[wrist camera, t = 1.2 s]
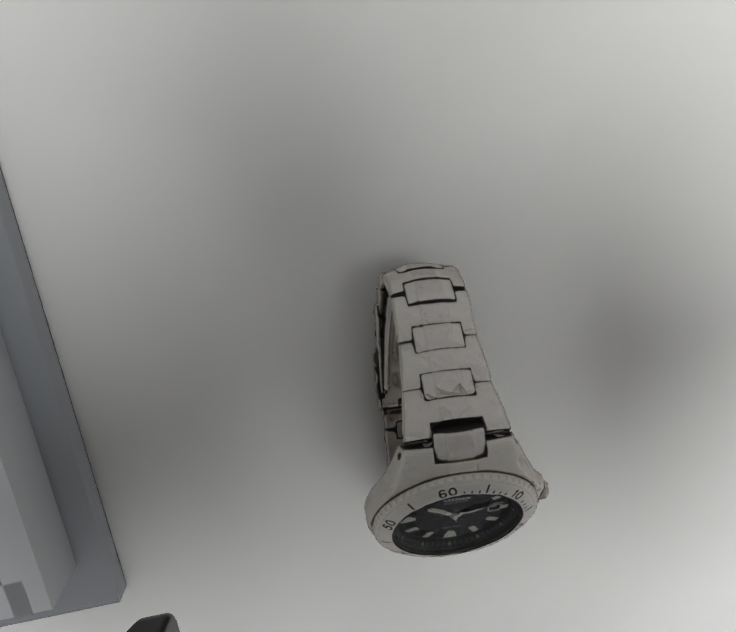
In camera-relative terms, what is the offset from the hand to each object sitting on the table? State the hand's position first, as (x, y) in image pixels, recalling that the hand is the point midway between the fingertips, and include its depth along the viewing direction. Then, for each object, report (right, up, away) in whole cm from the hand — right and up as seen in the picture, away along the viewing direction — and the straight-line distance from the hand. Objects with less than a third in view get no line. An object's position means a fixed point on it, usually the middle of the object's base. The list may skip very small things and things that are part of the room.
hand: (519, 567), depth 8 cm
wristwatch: (-1, +2, +7) cm, 8 cm away
